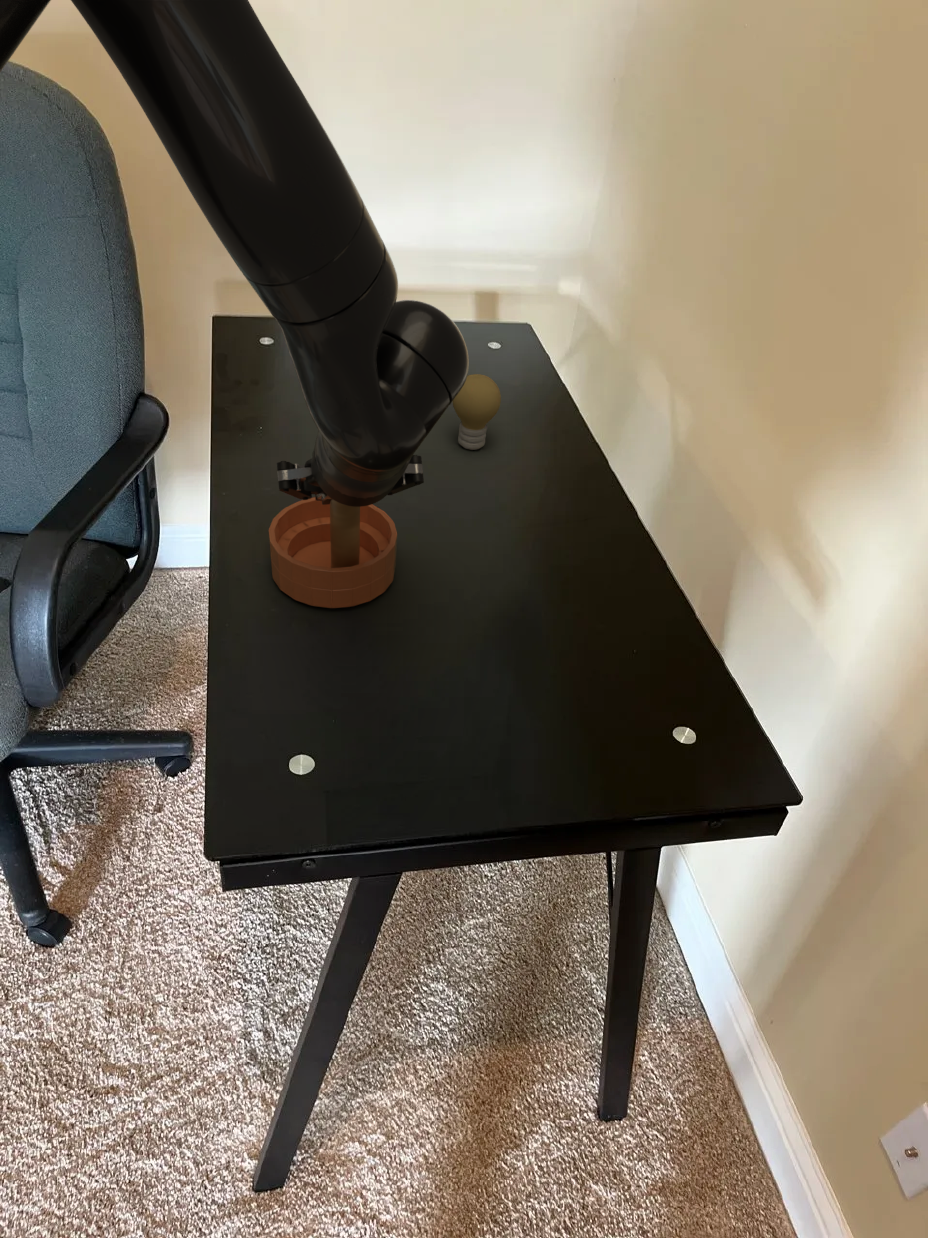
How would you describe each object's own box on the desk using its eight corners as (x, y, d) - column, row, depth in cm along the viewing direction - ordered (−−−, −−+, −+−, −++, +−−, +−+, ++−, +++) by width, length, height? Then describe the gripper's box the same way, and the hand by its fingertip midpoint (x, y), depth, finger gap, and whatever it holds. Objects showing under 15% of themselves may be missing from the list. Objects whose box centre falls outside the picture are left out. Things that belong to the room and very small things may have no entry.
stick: (332, 577, 86) (331, 479, 78) (329, 559, 88) (327, 462, 80) (361, 574, 87) (362, 477, 79) (357, 557, 89) (358, 461, 81)
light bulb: (456, 459, 110) (463, 389, 103) (441, 434, 114) (448, 367, 108) (500, 455, 112) (510, 387, 105) (485, 431, 116) (493, 364, 110)
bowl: (277, 617, 84) (274, 576, 80) (267, 539, 93) (264, 499, 90) (404, 606, 87) (407, 565, 83) (383, 532, 96) (384, 492, 93)
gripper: (441, 403, 69) (406, 454, 86) (269, 408, 66) (267, 460, 82) (450, 492, 69) (413, 525, 86) (278, 502, 65) (275, 534, 82)
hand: (342, 493), depth 84 cm, fingers closed on stick, 3 cm apart
